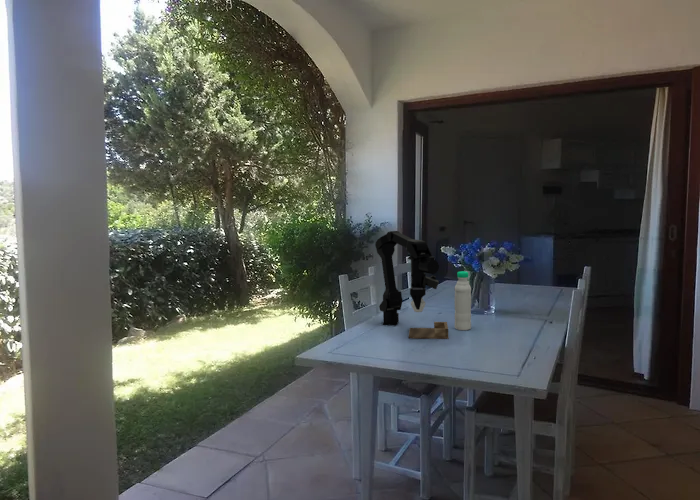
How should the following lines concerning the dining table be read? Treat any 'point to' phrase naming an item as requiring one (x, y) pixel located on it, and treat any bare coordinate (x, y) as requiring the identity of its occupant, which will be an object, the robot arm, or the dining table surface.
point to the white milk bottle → (462, 302)
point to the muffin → (420, 306)
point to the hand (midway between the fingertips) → (418, 307)
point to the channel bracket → (430, 332)
